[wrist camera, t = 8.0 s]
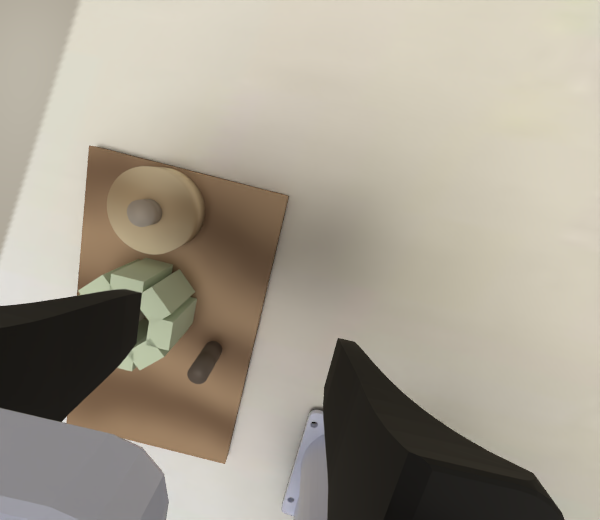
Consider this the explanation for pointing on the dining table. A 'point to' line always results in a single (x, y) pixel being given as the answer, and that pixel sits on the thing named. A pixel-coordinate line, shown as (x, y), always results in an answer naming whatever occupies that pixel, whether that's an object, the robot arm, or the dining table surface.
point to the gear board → (208, 291)
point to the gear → (152, 306)
